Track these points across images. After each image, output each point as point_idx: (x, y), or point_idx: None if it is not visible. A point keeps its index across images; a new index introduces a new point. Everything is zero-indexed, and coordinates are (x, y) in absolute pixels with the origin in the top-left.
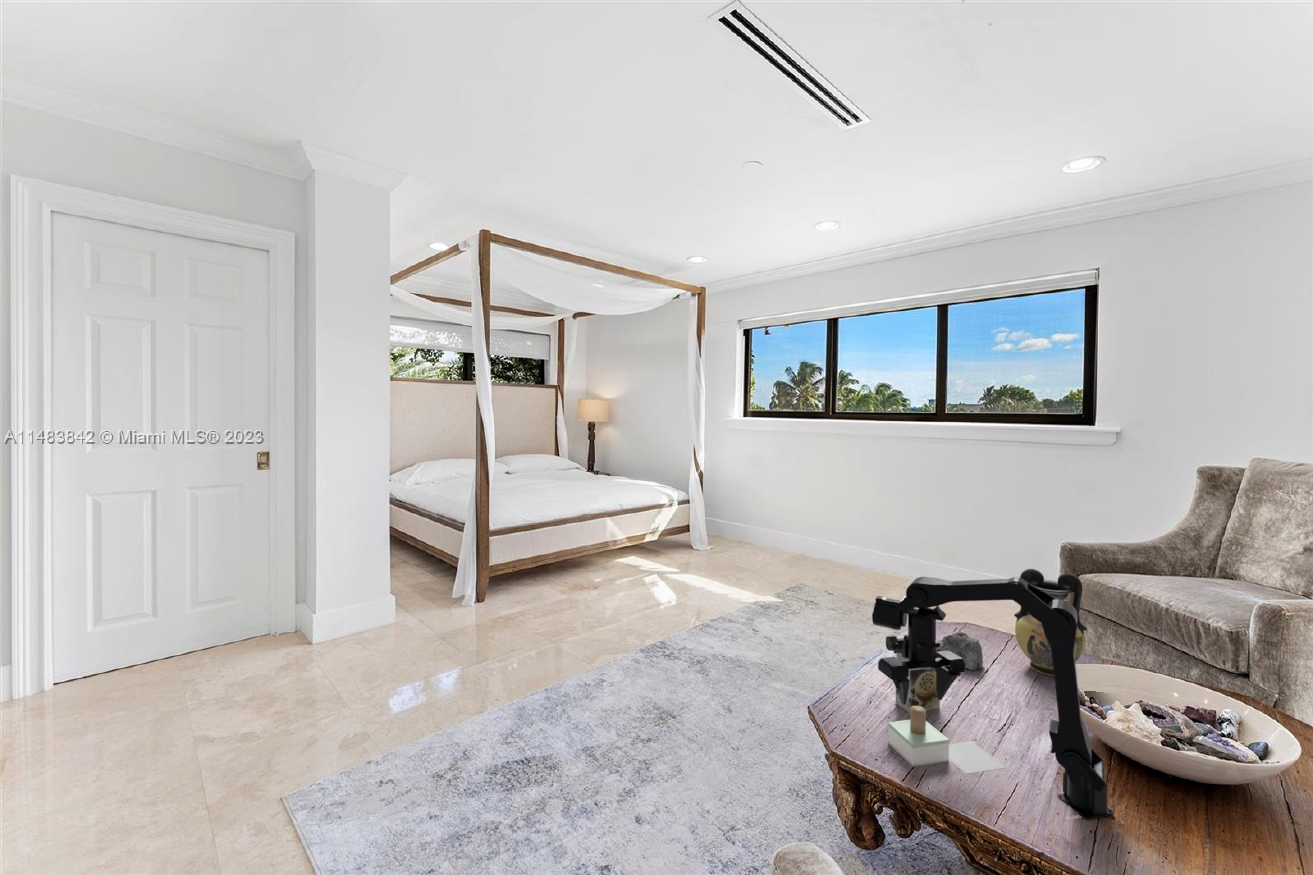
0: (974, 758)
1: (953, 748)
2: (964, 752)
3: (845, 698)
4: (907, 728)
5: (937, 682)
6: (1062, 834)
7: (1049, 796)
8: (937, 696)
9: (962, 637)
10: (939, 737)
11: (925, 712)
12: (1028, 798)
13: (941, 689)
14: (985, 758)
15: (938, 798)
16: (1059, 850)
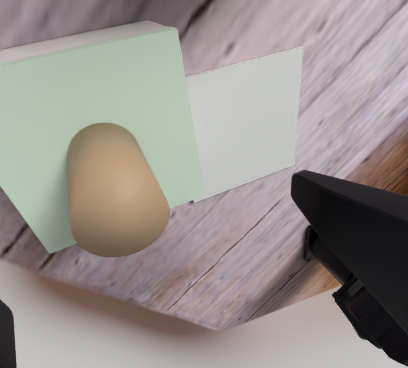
0: (253, 138)
1: (226, 93)
2: (245, 112)
3: None
4: (55, 140)
5: (403, 238)
6: (252, 292)
7: (300, 224)
8: (301, 184)
9: None
10: (178, 188)
11: (158, 233)
12: (265, 237)
13: (353, 257)
14: (278, 135)
15: (91, 284)
16: (227, 317)
